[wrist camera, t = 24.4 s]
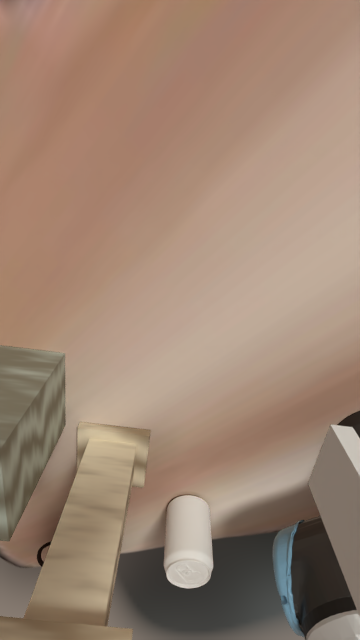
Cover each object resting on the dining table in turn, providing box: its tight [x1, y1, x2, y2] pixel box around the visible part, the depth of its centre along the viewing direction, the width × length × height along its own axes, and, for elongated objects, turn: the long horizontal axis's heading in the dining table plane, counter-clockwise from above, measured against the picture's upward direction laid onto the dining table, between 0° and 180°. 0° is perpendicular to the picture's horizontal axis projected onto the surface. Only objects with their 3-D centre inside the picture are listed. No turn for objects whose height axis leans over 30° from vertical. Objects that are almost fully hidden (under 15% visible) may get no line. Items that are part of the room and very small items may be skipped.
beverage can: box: [164, 495, 213, 588], centre depth 60 cm, size 8×8×12 cm
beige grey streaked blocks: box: [0, 345, 151, 640], centre depth 44 cm, size 26×28×30 cm
